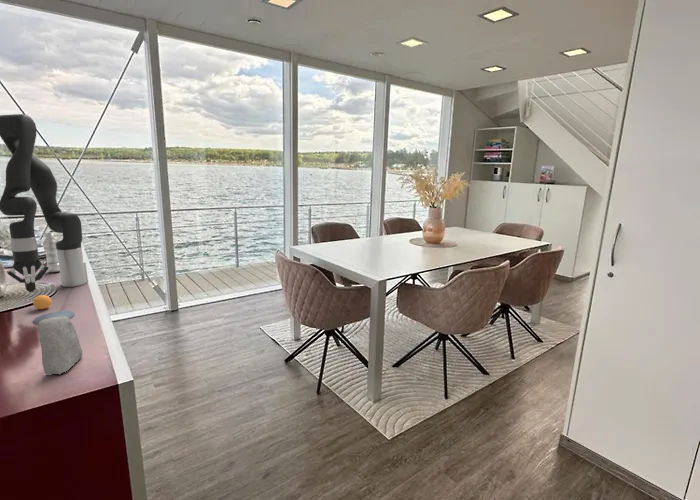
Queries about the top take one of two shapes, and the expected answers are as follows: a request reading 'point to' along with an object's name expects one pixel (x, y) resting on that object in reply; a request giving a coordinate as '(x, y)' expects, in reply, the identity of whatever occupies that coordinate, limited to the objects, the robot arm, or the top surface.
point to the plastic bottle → (51, 252)
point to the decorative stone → (58, 344)
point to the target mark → (54, 314)
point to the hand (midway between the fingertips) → (31, 291)
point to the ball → (42, 302)
